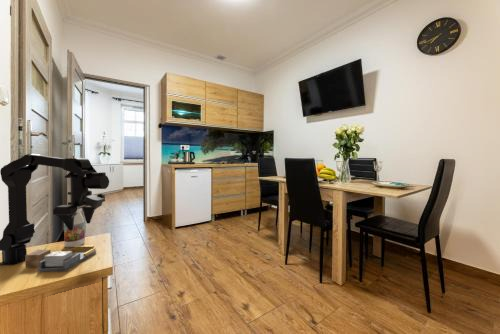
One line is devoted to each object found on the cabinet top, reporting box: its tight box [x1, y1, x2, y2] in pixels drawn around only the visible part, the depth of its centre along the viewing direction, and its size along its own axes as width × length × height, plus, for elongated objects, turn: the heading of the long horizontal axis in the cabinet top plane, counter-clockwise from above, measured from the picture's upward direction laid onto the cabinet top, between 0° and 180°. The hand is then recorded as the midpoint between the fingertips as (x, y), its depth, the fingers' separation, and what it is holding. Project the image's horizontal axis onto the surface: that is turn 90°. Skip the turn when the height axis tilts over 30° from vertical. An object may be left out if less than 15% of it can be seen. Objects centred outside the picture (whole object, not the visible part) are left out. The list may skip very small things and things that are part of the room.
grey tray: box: [37, 245, 97, 273], centre depth 87 cm, size 10×16×4 cm, turn 2°
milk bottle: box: [63, 206, 86, 248], centre depth 104 cm, size 8×8×20 cm
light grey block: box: [44, 250, 72, 267], centre depth 82 cm, size 7×5×4 cm
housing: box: [24, 249, 52, 269], centre depth 84 cm, size 5×5×5 cm
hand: (80, 226), depth 87 cm, fingers open, 9 cm apart
